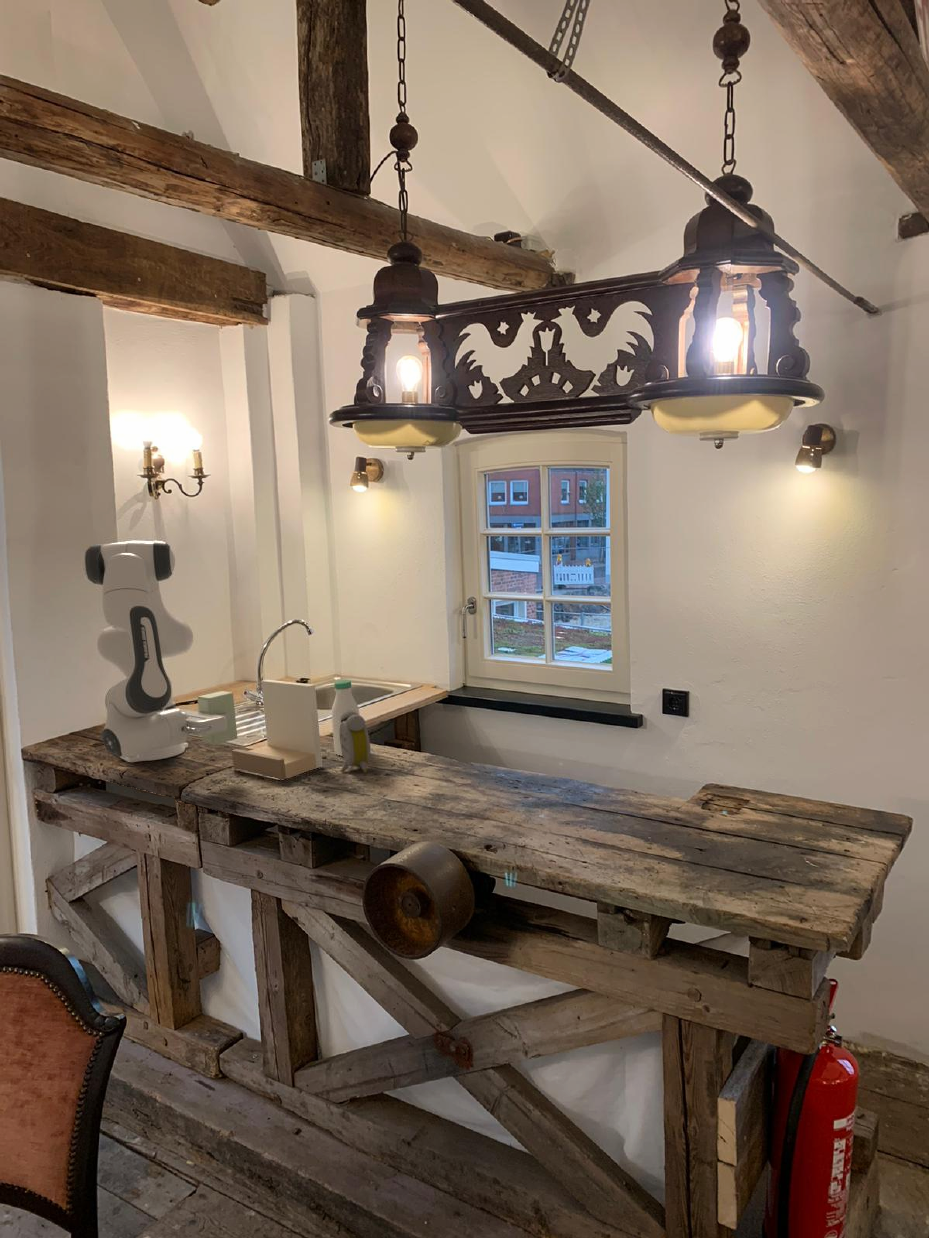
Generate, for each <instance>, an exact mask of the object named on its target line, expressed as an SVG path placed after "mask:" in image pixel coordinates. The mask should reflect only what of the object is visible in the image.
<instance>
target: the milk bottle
mask: <svg viewBox="0 0 929 1238" xmlns="http://www.w3.org/2000/svg"><path fill="white" fill-rule="evenodd" d="M333 687H334V691H335V698H334V701H333V704H332V707H331V723H332V736H333V737H332V738H333V749H334V753H335V755H336V754H337V755H336V756H339V755H340V756H341V757H343V755H342V750H341V745H340V724H341V721H340V720H341V716H342V714H343V713H344V712H346V711H347V710H352V711H355V712H356V713H357V714H358V715H360V709H359V706H358V704H357V702H356V700H355V698H354V696H353V694H352V681H351V680H337V681H336V682H334V686H333ZM340 756H339V757H340Z"/></svg>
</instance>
